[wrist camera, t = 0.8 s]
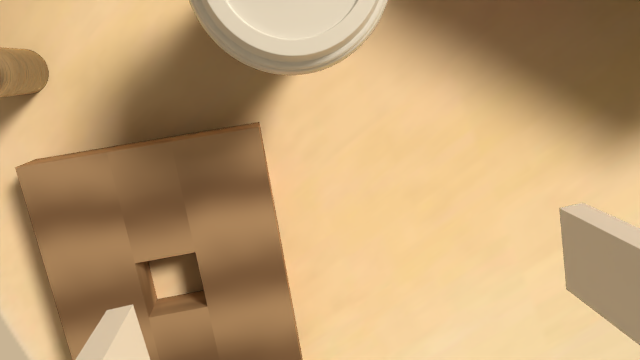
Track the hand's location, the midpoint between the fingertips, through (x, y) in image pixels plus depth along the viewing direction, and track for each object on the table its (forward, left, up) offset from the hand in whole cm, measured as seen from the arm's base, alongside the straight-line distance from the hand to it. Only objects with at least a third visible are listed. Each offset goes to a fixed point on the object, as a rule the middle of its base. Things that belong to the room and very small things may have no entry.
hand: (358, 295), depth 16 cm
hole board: (+7, -11, -24) cm, 27 cm away
